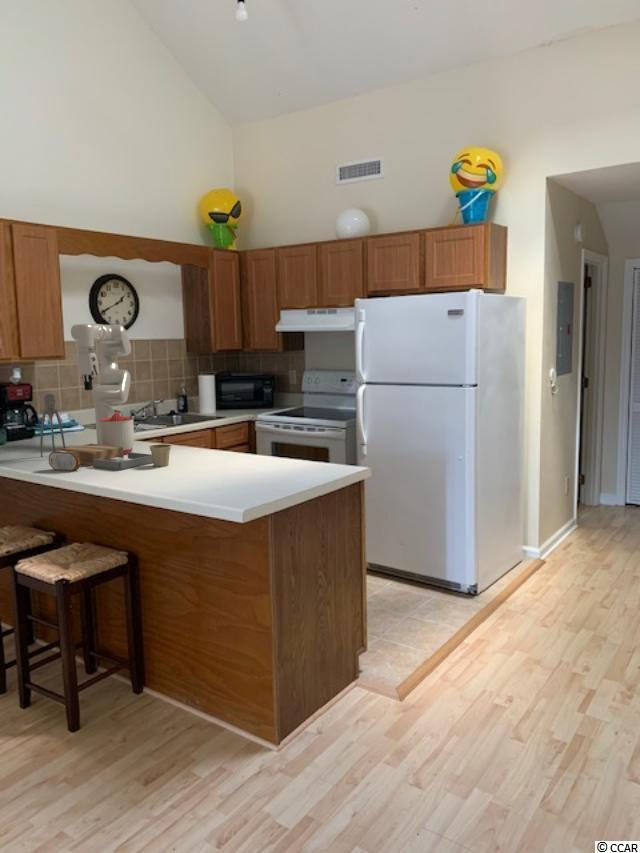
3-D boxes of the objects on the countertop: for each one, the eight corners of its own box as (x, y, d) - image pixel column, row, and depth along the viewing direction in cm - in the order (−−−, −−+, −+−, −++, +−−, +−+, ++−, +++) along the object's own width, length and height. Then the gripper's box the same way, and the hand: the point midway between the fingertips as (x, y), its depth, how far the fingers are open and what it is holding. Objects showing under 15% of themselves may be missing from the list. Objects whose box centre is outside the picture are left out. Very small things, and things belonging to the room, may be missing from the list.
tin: (82, 470, 280) (81, 450, 279) (77, 472, 277) (76, 451, 276) (53, 469, 285) (51, 449, 284) (48, 470, 282) (46, 450, 281)
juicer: (66, 454, 320) (61, 392, 316) (54, 459, 309) (50, 394, 305) (46, 455, 321) (42, 392, 317) (34, 459, 310) (29, 394, 306)
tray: (129, 459, 303) (129, 452, 303) (155, 462, 294) (155, 454, 294) (93, 467, 287) (92, 459, 286) (120, 470, 278) (119, 462, 277)
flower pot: (176, 464, 289) (176, 444, 288) (163, 468, 281) (162, 448, 280) (159, 463, 293) (158, 443, 292) (145, 467, 285) (144, 447, 284)
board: (91, 456, 314) (91, 443, 314) (123, 460, 303) (122, 447, 302) (62, 462, 301) (61, 448, 300) (94, 466, 289) (93, 452, 289)
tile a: (133, 459, 290) (133, 463, 291) (126, 458, 292) (127, 462, 293) (126, 460, 287) (126, 465, 287) (119, 459, 289) (120, 464, 289)
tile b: (123, 457, 294) (123, 462, 294) (117, 457, 296) (117, 461, 296) (116, 459, 290) (116, 463, 291) (110, 458, 293) (110, 463, 293)
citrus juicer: (143, 453, 320) (141, 412, 317) (107, 457, 310) (104, 415, 307) (132, 449, 332) (130, 409, 330) (97, 453, 323) (95, 412, 320)
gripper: (103, 350, 311) (105, 389, 314) (82, 350, 319) (85, 389, 322) (89, 350, 305) (92, 390, 307) (69, 351, 313) (71, 390, 316)
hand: (88, 389), depth 315 cm, fingers closed
